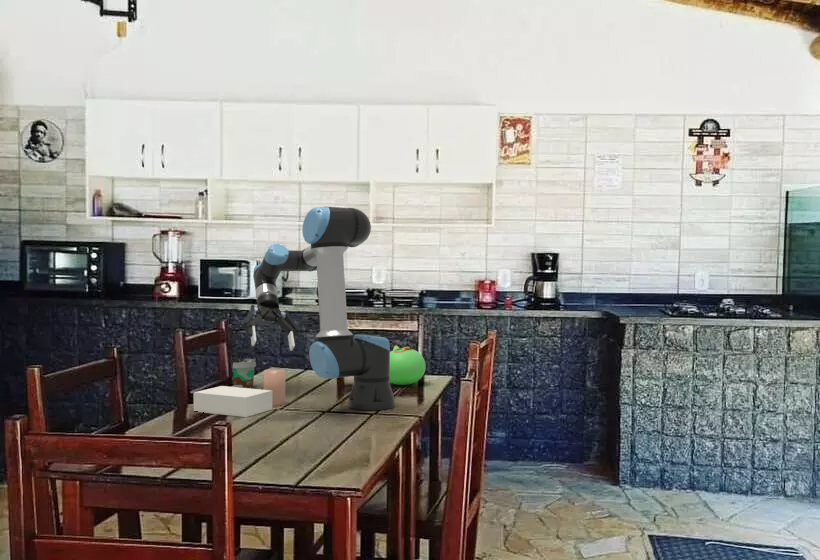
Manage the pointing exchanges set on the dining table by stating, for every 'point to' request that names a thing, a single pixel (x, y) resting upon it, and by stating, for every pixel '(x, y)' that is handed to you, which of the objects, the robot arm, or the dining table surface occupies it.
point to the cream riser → (233, 401)
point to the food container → (244, 373)
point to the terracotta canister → (275, 385)
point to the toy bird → (406, 366)
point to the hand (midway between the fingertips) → (273, 345)
